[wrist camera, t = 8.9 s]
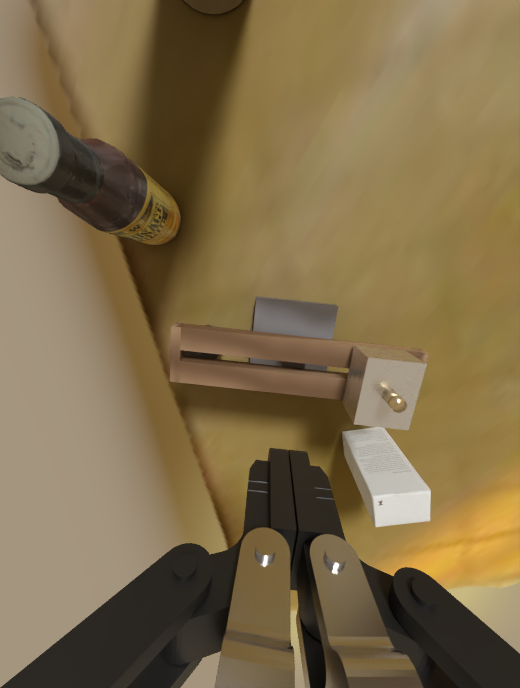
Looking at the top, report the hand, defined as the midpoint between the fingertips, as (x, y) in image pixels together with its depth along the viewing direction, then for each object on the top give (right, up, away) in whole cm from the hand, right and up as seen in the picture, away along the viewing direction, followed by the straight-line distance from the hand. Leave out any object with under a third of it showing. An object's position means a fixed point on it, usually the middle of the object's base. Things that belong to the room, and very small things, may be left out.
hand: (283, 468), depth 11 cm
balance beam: (+3, +5, +26) cm, 26 cm away
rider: (+11, +2, +19) cm, 22 cm away
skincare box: (+14, -9, +29) cm, 34 cm away
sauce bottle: (-13, +20, +22) cm, 33 cm away
